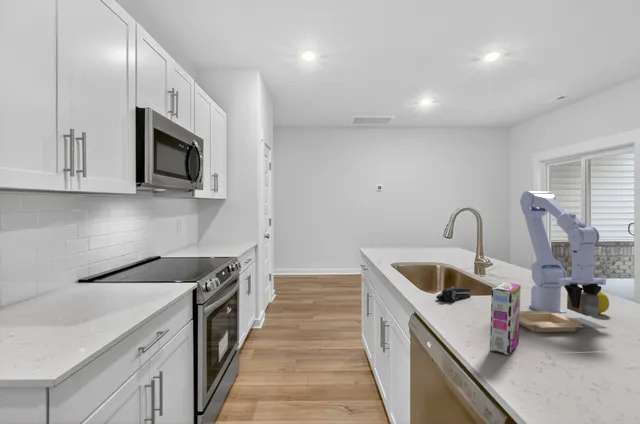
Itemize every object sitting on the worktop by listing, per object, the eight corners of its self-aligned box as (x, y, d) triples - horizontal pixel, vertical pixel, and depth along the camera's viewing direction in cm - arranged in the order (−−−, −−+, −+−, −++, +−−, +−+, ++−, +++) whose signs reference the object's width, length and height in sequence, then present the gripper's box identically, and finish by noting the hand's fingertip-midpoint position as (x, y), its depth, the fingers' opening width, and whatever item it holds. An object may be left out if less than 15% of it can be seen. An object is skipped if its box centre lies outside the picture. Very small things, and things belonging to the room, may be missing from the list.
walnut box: (567, 308, 122) (567, 290, 122) (577, 308, 122) (578, 290, 122) (586, 316, 114) (587, 296, 114) (598, 315, 114) (598, 296, 114)
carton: (501, 319, 123) (501, 311, 122) (552, 318, 124) (552, 310, 124) (532, 336, 107) (533, 327, 107) (591, 334, 108) (591, 326, 108)
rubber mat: (558, 319, 123) (558, 318, 123) (580, 318, 123) (580, 317, 123) (582, 329, 113) (582, 328, 113) (606, 328, 113) (606, 327, 113)
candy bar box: (510, 356, 92) (511, 291, 92) (489, 351, 95) (490, 288, 95) (520, 343, 101) (521, 283, 100) (500, 339, 104) (501, 281, 104)
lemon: (600, 316, 126) (601, 293, 126) (585, 312, 131) (585, 289, 131) (612, 315, 127) (613, 292, 127) (597, 311, 133) (597, 289, 133)
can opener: (448, 305, 141) (448, 290, 140) (434, 300, 147) (434, 286, 146) (477, 298, 150) (477, 285, 150) (462, 295, 156) (463, 282, 156)
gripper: (570, 267, 113) (570, 311, 113) (614, 266, 114) (613, 310, 115) (554, 263, 120) (553, 305, 120) (595, 263, 121) (595, 304, 122)
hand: (581, 307), depth 118 cm, fingers closed on walnut box, 4 cm apart
